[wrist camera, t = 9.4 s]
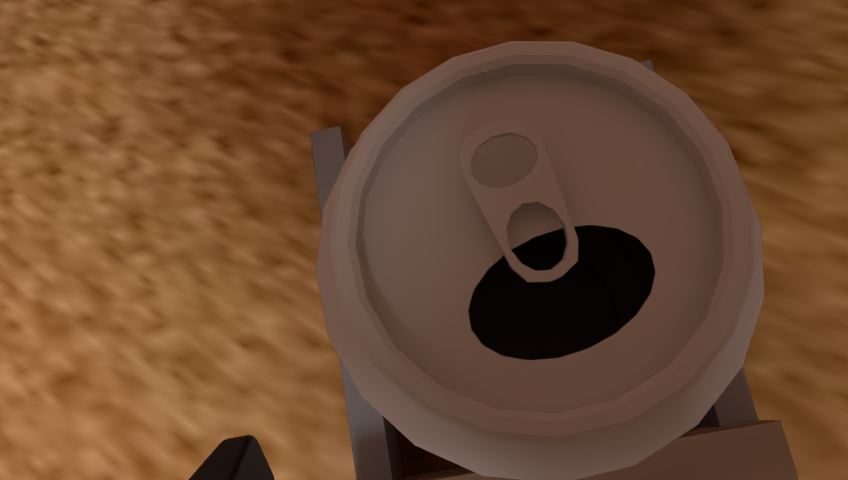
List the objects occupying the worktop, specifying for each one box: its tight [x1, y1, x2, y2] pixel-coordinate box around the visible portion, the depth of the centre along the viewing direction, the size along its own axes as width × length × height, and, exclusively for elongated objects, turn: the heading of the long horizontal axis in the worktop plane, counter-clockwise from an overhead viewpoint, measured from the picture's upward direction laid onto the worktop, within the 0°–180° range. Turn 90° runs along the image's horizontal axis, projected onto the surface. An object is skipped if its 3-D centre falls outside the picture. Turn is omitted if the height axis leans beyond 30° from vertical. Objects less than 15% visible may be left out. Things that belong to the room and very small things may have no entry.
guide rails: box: [310, 60, 758, 480], centre depth 21 cm, size 11×11×2 cm
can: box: [316, 41, 764, 480], centre depth 15 cm, size 8×8×12 cm
